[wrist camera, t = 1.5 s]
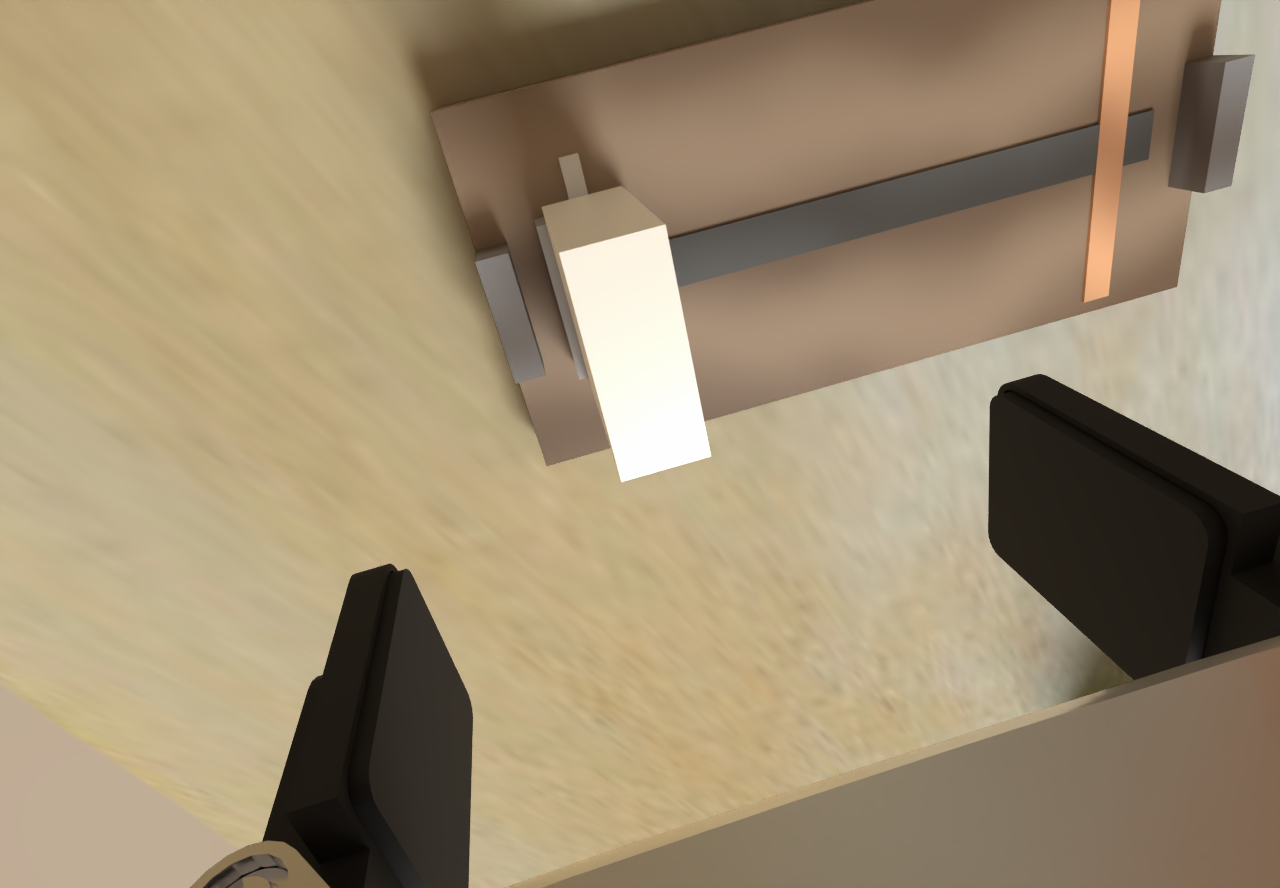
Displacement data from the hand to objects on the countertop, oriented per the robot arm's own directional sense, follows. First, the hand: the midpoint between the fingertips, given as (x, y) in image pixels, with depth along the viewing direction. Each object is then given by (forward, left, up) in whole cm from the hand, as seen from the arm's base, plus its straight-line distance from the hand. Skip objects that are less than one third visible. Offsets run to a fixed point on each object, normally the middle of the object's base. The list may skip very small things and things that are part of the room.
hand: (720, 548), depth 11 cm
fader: (0, 0, -14) cm, 14 cm away
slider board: (0, +9, -16) cm, 19 cm away
